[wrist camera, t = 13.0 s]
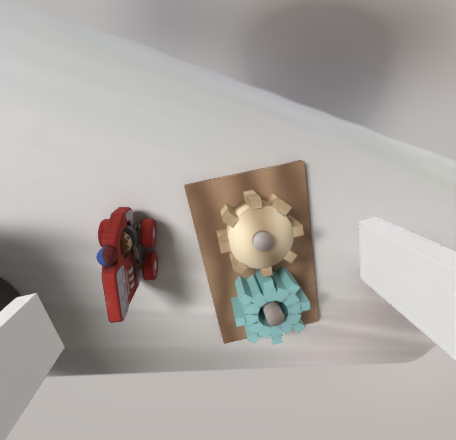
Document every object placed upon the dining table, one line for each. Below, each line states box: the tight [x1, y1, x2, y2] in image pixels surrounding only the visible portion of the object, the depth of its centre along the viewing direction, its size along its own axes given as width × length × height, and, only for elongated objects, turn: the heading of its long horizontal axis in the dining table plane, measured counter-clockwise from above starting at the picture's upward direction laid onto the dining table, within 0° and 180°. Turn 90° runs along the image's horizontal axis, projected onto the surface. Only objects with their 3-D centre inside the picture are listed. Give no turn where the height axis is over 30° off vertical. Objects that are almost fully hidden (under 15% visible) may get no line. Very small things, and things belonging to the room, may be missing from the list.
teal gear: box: [231, 266, 310, 345], centre depth 39 cm, size 11×11×5 cm
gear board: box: [184, 160, 319, 344], centre depth 37 cm, size 17×28×7 cm, turn 11°
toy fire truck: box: [97, 207, 158, 323], centre depth 32 cm, size 7×12×10 cm, turn 178°
